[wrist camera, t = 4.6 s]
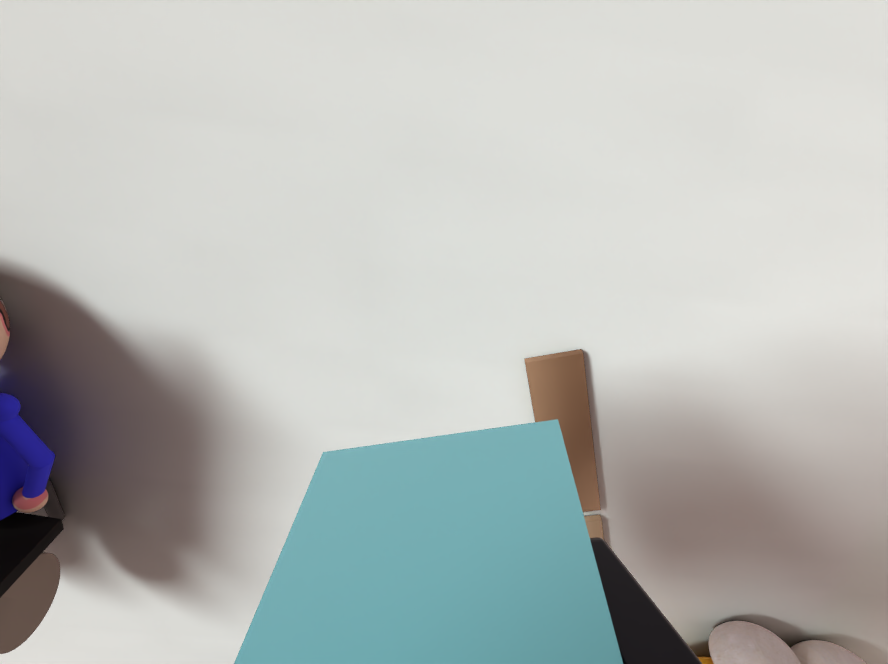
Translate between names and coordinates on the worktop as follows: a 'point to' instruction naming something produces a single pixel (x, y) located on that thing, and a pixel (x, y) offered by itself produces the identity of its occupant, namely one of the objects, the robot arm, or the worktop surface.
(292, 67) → the worktop surface
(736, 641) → the multicolored white-lobed toy
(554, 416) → the brown segmented strip
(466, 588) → the teal cube
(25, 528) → the figurine character
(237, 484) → the worktop surface
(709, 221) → the worktop surface
